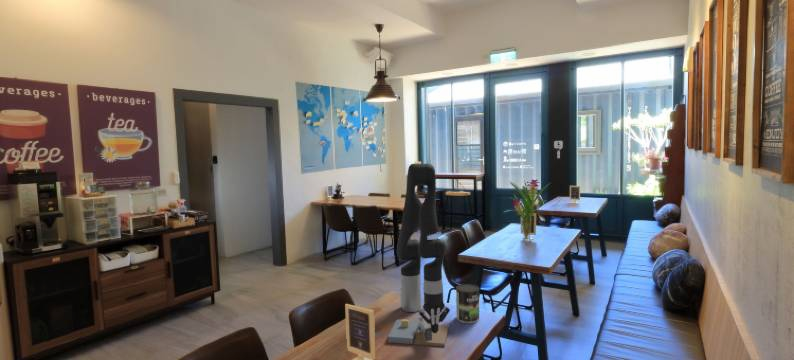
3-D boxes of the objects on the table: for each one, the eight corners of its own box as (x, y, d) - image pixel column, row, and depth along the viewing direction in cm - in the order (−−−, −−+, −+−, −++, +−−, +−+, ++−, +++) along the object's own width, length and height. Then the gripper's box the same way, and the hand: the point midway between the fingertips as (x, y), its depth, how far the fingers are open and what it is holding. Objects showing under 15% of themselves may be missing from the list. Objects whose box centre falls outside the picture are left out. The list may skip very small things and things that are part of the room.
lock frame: (396, 324, 183) (396, 313, 182) (448, 328, 178) (448, 316, 178) (388, 342, 167) (387, 330, 167) (444, 346, 163) (444, 334, 162)
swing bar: (417, 327, 173) (417, 317, 173) (424, 326, 174) (424, 317, 174) (425, 341, 162) (425, 330, 161) (433, 340, 162) (433, 329, 162)
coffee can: (484, 320, 185) (484, 289, 184) (465, 325, 180) (465, 293, 179) (470, 311, 194) (469, 282, 193) (451, 316, 190) (451, 286, 188)
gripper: (419, 295, 158) (421, 339, 160) (452, 291, 161) (453, 334, 163) (414, 288, 166) (416, 330, 167) (446, 284, 169) (447, 325, 170)
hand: (434, 332), depth 165 cm, fingers closed
